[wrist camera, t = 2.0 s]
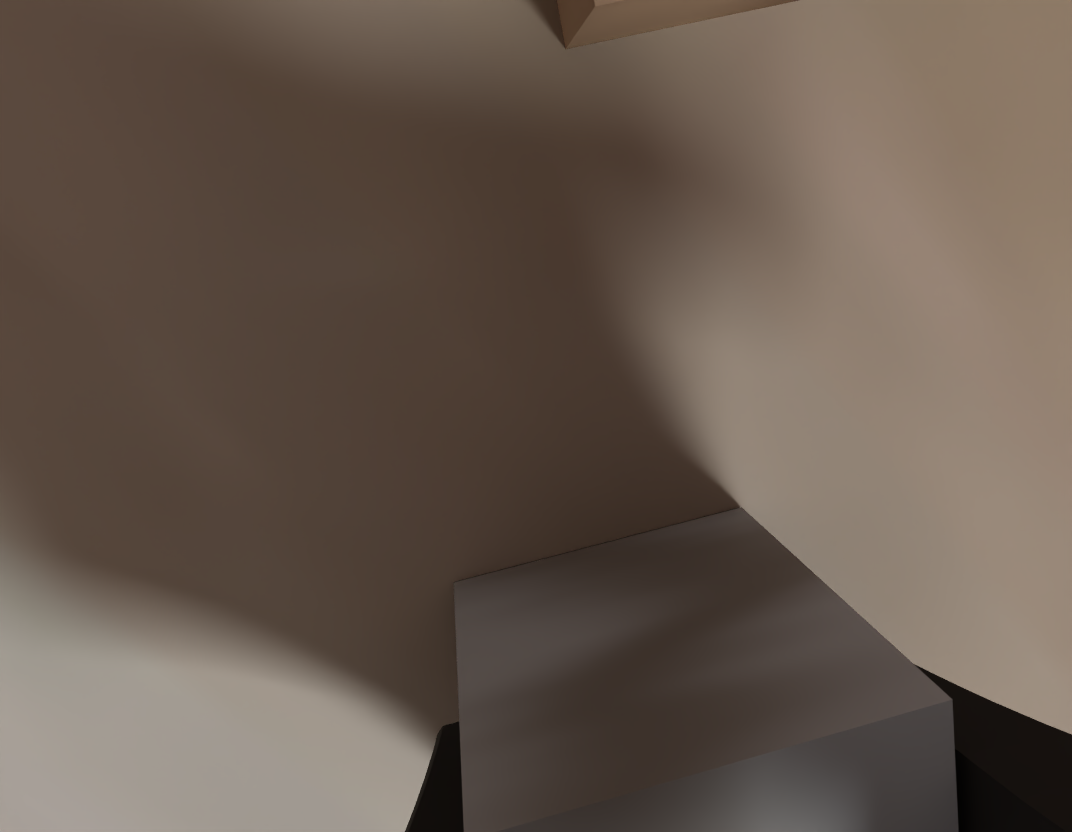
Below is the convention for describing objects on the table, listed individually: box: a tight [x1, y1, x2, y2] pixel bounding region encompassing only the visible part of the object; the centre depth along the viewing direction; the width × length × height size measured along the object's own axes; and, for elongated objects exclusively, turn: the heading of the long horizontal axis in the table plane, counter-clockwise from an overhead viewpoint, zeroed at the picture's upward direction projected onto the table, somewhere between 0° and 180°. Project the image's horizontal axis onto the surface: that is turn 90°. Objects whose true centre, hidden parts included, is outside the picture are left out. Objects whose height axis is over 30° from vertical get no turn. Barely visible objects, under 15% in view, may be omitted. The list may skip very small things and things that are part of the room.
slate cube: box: [454, 507, 959, 832], centre depth 10 cm, size 5×5×5 cm
